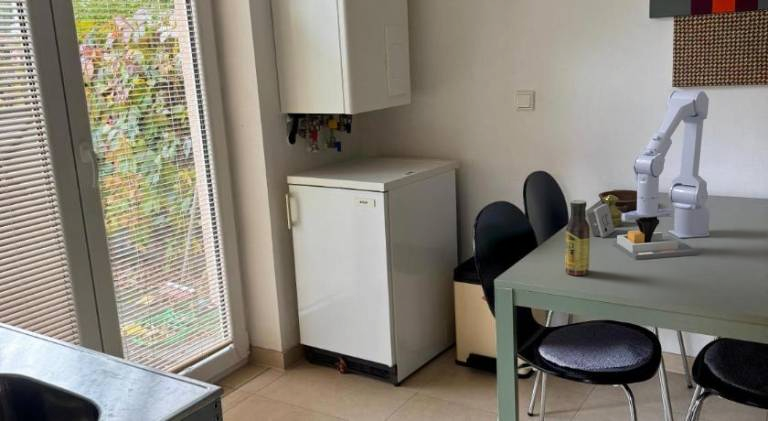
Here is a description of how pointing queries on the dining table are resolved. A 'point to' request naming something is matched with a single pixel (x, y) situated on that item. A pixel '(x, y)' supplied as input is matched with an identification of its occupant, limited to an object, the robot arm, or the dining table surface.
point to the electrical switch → (601, 221)
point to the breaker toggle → (636, 236)
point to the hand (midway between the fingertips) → (646, 242)
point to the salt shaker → (613, 210)
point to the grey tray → (654, 247)
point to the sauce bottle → (577, 240)
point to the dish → (622, 199)
